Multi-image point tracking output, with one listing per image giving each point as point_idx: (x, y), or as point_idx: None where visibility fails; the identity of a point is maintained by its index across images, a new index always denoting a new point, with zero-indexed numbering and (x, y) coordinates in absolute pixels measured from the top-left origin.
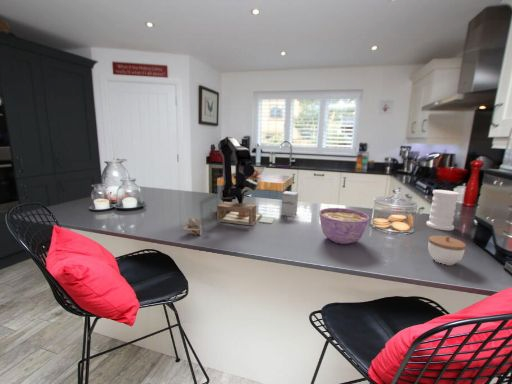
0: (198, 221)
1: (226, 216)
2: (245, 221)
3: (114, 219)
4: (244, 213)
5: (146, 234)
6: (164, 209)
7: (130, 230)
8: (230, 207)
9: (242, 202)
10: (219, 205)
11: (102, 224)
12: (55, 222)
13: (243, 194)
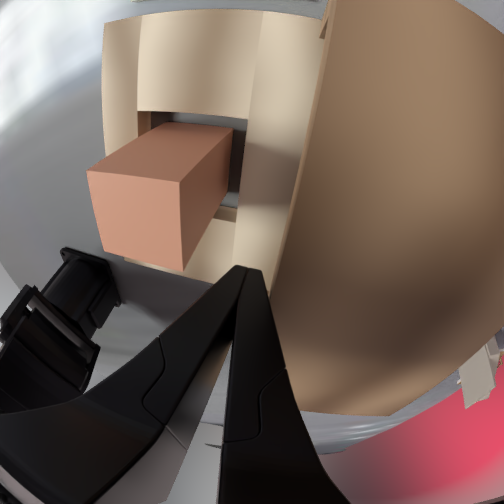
0: (487, 380)
1: (267, 284)
2: None
3: (312, 439)
4: (215, 160)
5: (425, 405)
6: (211, 409)
7: (389, 422)
8: (464, 360)
9: (222, 280)
10: (380, 412)
11: (343, 440)
12: (330, 453)
13: (304, 493)
